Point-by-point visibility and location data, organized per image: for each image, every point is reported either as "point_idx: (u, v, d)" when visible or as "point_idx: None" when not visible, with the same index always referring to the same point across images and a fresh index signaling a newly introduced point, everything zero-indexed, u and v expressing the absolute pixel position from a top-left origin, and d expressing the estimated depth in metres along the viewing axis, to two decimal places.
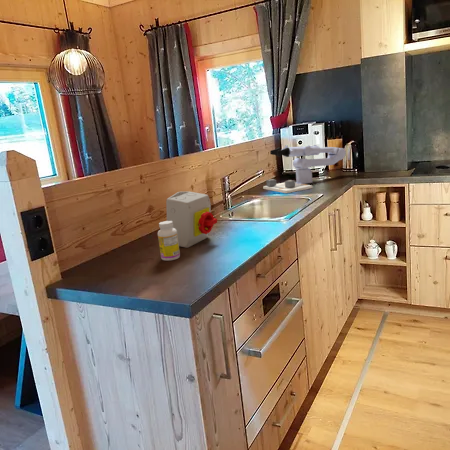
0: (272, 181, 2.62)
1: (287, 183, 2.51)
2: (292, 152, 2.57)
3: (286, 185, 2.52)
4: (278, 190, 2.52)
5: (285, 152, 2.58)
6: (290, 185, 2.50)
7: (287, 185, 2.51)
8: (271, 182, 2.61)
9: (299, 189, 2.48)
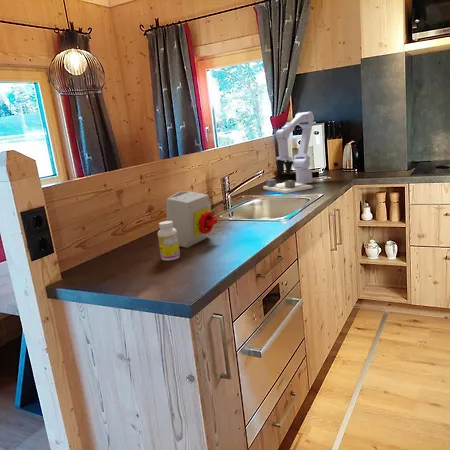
0: (272, 181, 2.62)
1: (287, 183, 2.51)
2: (291, 159, 2.50)
3: (286, 185, 2.52)
4: (278, 190, 2.52)
5: (288, 164, 2.53)
6: (290, 185, 2.50)
7: (287, 185, 2.51)
8: (271, 182, 2.61)
9: (299, 189, 2.48)
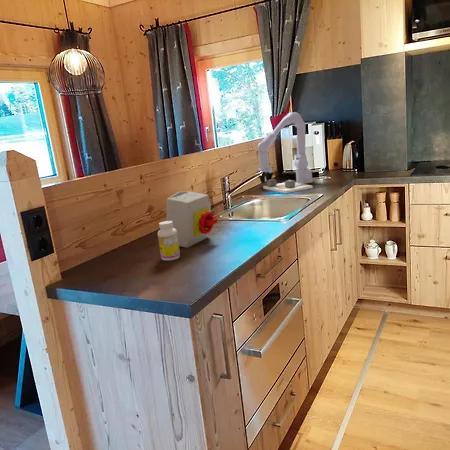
0: (272, 181, 2.61)
1: (287, 183, 2.51)
2: (271, 170, 2.61)
3: (286, 185, 2.52)
4: (278, 190, 2.52)
5: (268, 175, 2.65)
6: (290, 185, 2.50)
7: (287, 185, 2.51)
8: (271, 182, 2.61)
9: (299, 189, 2.48)
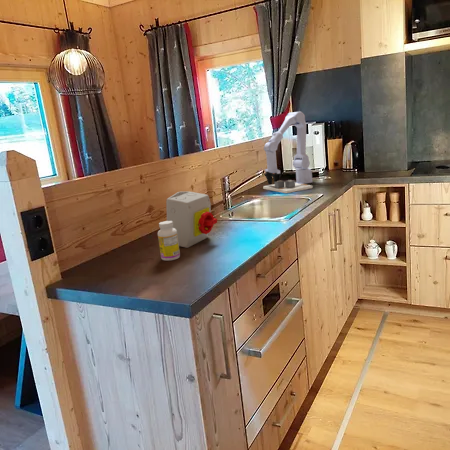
0: (280, 182, 2.53)
1: (287, 183, 2.51)
2: (278, 171, 2.53)
3: (286, 185, 2.52)
4: (278, 190, 2.52)
5: (276, 176, 2.57)
6: (290, 185, 2.50)
7: (287, 185, 2.51)
8: (279, 183, 2.53)
9: (299, 189, 2.48)
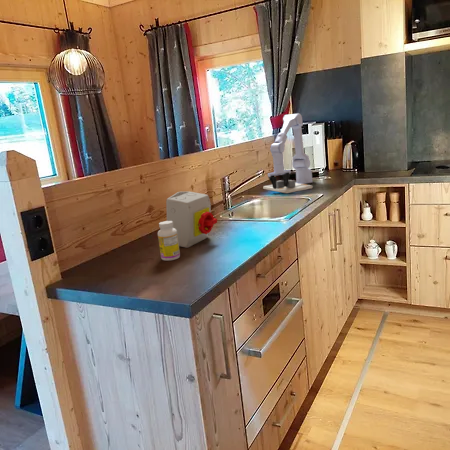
0: (280, 182, 2.53)
1: None
2: (268, 174, 2.45)
3: None
4: (278, 190, 2.52)
5: None
6: (290, 185, 2.50)
7: (287, 185, 2.51)
8: (279, 183, 2.53)
9: (299, 189, 2.48)
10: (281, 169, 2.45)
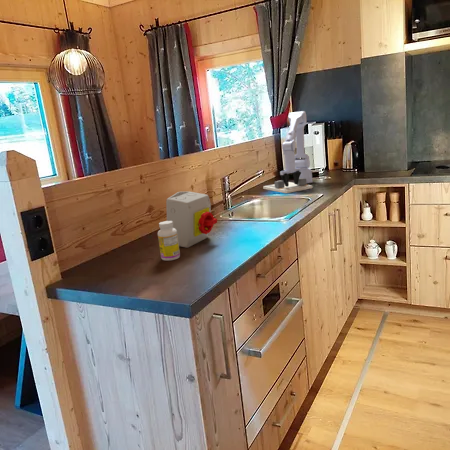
0: (280, 182, 2.53)
1: (299, 181, 2.54)
2: (281, 172, 2.47)
3: None
4: (278, 190, 2.52)
5: None
6: (302, 183, 2.53)
7: (298, 183, 2.55)
8: (279, 183, 2.53)
9: (299, 189, 2.48)
10: (293, 167, 2.48)
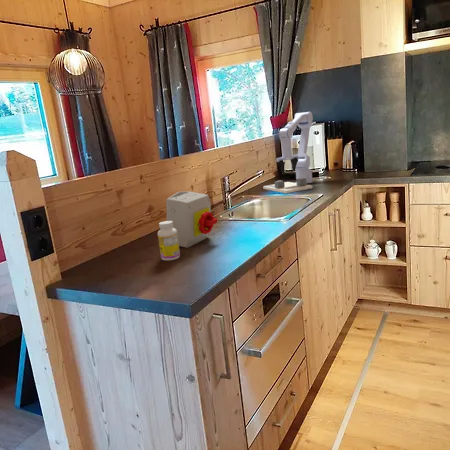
0: (280, 182, 2.53)
1: (298, 181, 2.54)
2: (277, 159, 2.52)
3: (297, 183, 2.56)
4: (278, 190, 2.52)
5: None
6: (301, 183, 2.53)
7: (298, 183, 2.55)
8: (279, 183, 2.53)
9: (299, 189, 2.48)
10: (289, 154, 2.52)
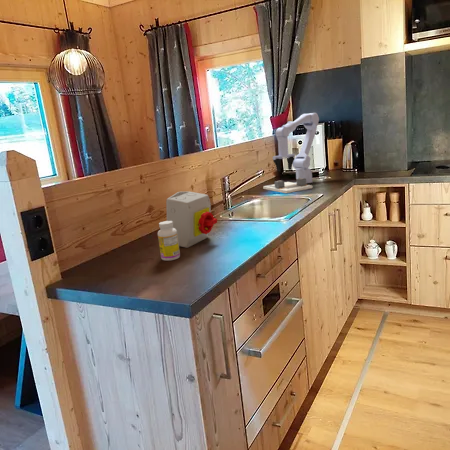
0: (280, 182, 2.53)
1: (298, 181, 2.54)
2: (273, 157, 2.57)
3: (297, 183, 2.56)
4: (278, 190, 2.52)
5: None
6: (301, 183, 2.53)
7: (298, 183, 2.55)
8: (279, 183, 2.53)
9: (299, 189, 2.48)
10: (286, 152, 2.56)
